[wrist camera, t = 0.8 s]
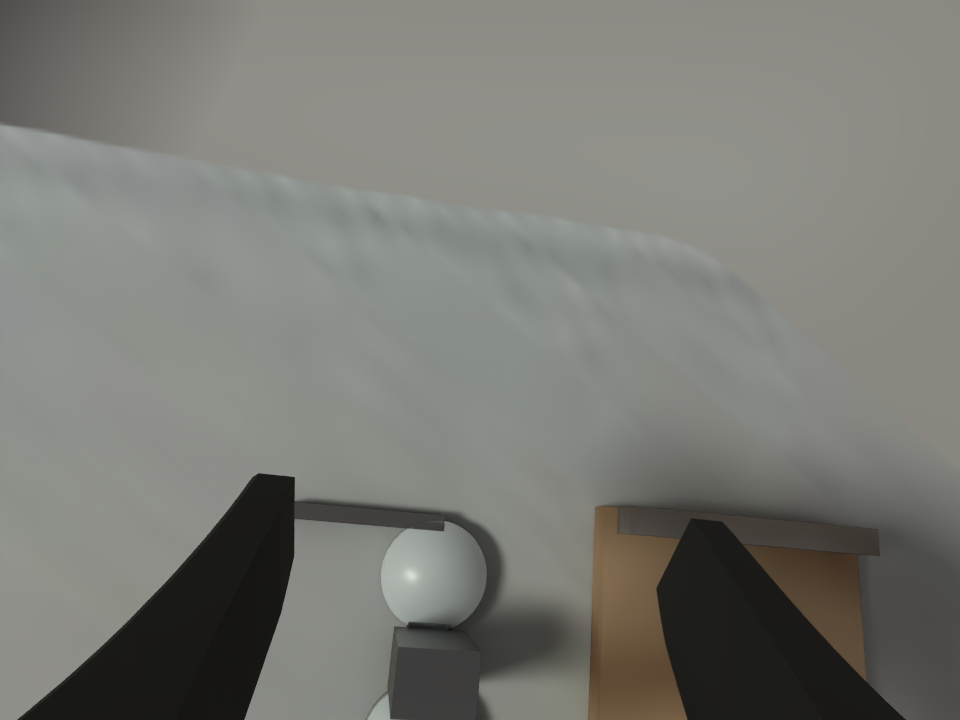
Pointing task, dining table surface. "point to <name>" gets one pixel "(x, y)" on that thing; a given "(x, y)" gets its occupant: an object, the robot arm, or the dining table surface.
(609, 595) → the stand
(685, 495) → the dining table surface
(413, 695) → the spectacles
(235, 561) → the robot arm
